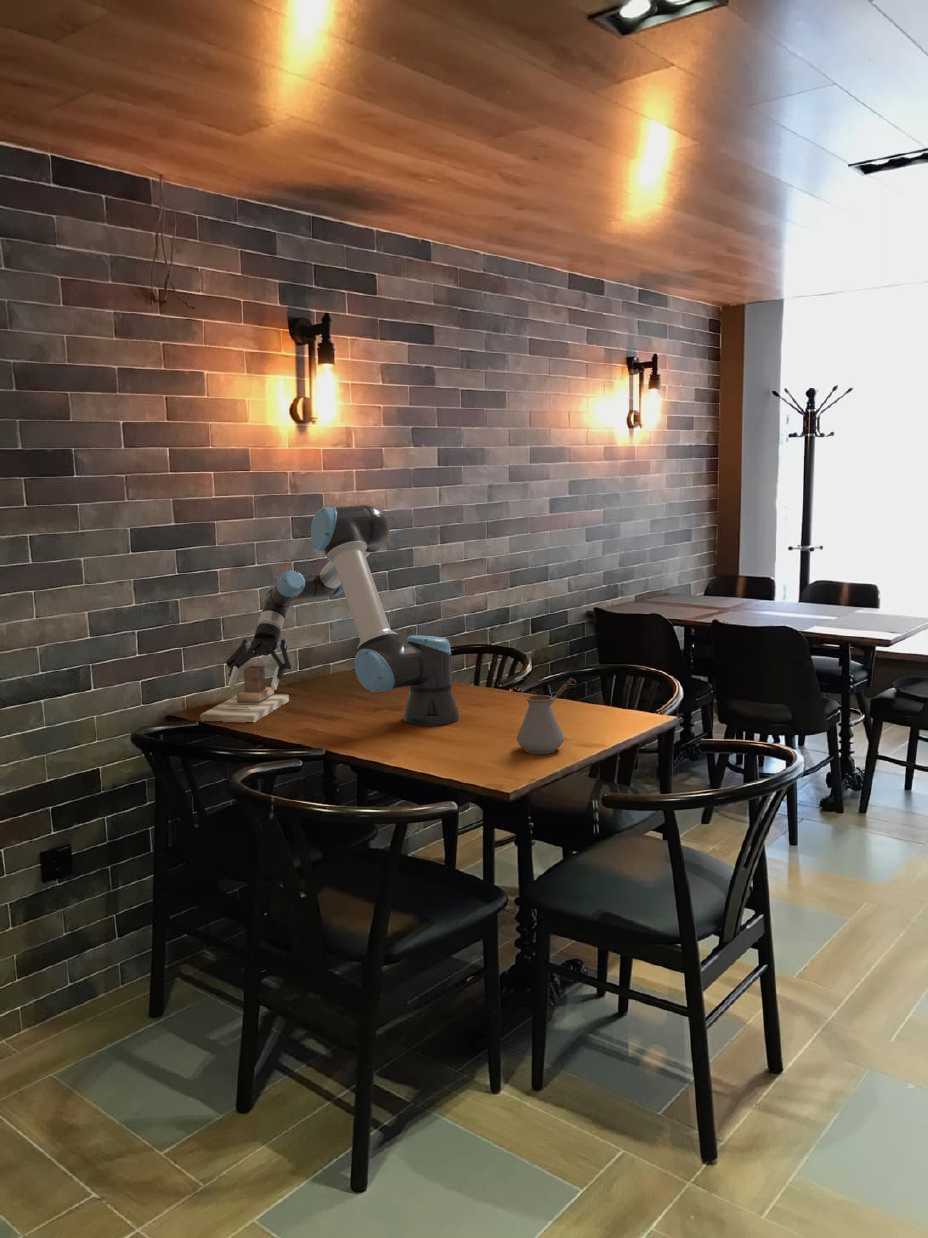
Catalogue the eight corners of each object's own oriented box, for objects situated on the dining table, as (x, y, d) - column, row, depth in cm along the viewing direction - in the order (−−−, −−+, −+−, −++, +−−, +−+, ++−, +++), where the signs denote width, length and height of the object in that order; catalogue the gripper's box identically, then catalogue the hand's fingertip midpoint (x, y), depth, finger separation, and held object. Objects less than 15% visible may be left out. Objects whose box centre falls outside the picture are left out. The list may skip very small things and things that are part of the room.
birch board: (240, 700, 300) (239, 693, 300) (289, 701, 297) (288, 694, 296) (200, 721, 275) (200, 714, 275) (253, 722, 272) (253, 715, 271)
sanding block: (252, 694, 298) (250, 663, 297) (274, 694, 297) (272, 664, 295) (237, 702, 288) (235, 671, 286) (259, 703, 286) (257, 671, 285)
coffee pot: (547, 759, 228) (546, 696, 226) (507, 752, 235) (506, 691, 233) (593, 738, 245) (592, 679, 243) (554, 732, 252) (553, 675, 250)
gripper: (310, 636, 302) (295, 694, 290) (235, 635, 308) (217, 693, 295) (303, 621, 296) (287, 680, 284) (227, 621, 302) (208, 679, 289)
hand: (252, 687), depth 290 cm, fingers open, 13 cm apart
